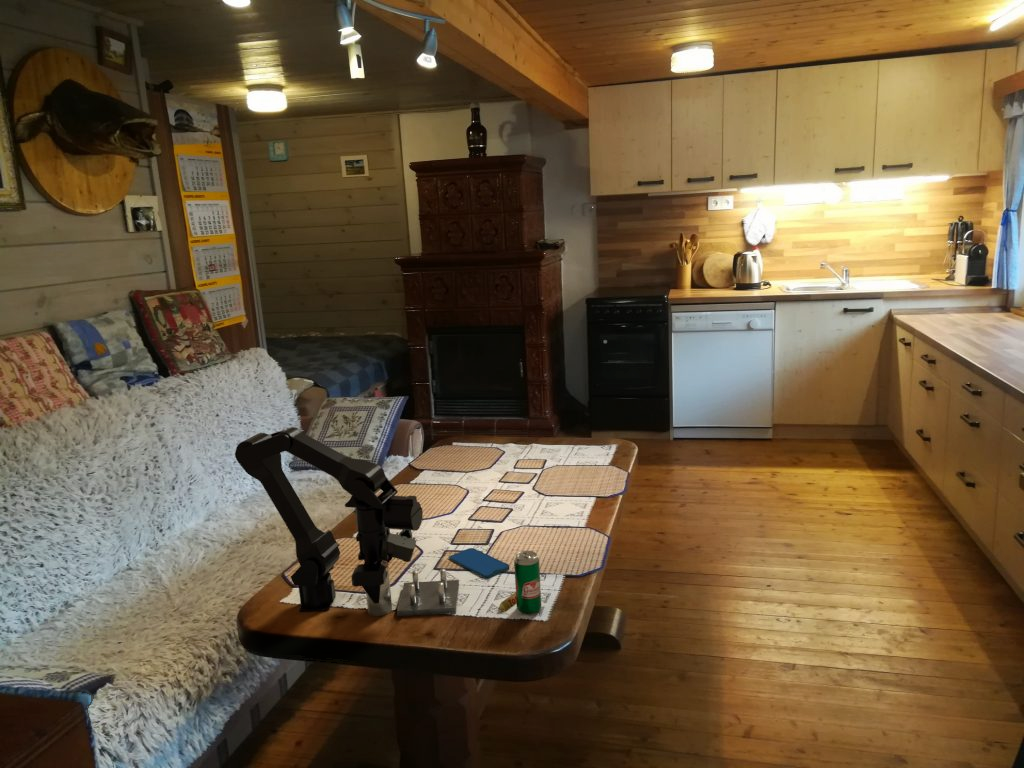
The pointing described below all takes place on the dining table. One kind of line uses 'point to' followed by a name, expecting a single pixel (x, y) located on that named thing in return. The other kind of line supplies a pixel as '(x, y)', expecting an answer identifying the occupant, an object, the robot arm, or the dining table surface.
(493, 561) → the smartphone
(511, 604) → the chocolate bar
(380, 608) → the canister
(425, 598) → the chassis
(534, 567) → the soda can
